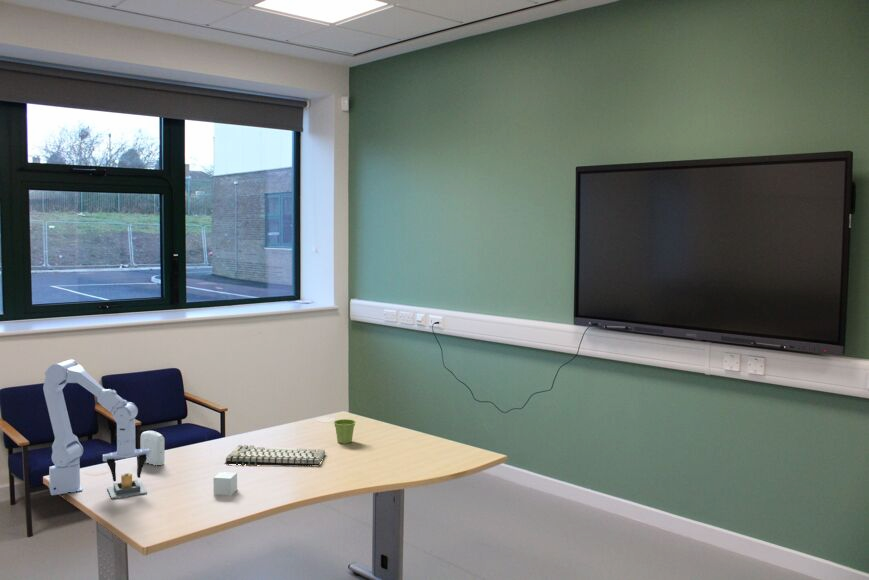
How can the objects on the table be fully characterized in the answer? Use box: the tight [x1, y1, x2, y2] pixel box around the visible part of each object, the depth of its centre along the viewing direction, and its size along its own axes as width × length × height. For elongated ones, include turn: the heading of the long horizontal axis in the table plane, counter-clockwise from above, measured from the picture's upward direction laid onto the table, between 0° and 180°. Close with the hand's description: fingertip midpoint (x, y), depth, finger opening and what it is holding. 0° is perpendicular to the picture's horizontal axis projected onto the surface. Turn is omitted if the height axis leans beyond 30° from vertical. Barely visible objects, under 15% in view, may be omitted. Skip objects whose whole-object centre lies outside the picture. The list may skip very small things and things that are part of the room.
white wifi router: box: [139, 430, 165, 467], centre depth 276 cm, size 10×4×12 cm, turn 60°
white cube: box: [213, 471, 238, 496], centre depth 248 cm, size 6×6×6 cm
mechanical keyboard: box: [224, 444, 326, 467], centre depth 285 cm, size 38×19×3 cm, turn 90°
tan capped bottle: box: [120, 472, 133, 488], centre depth 247 cm, size 3×3×6 cm
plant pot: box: [333, 418, 357, 445], centre depth 309 cm, size 9×9×9 cm
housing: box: [106, 479, 148, 500], centre depth 247 cm, size 11×11×2 cm
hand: (126, 478), depth 247 cm, fingers open, 7 cm apart
